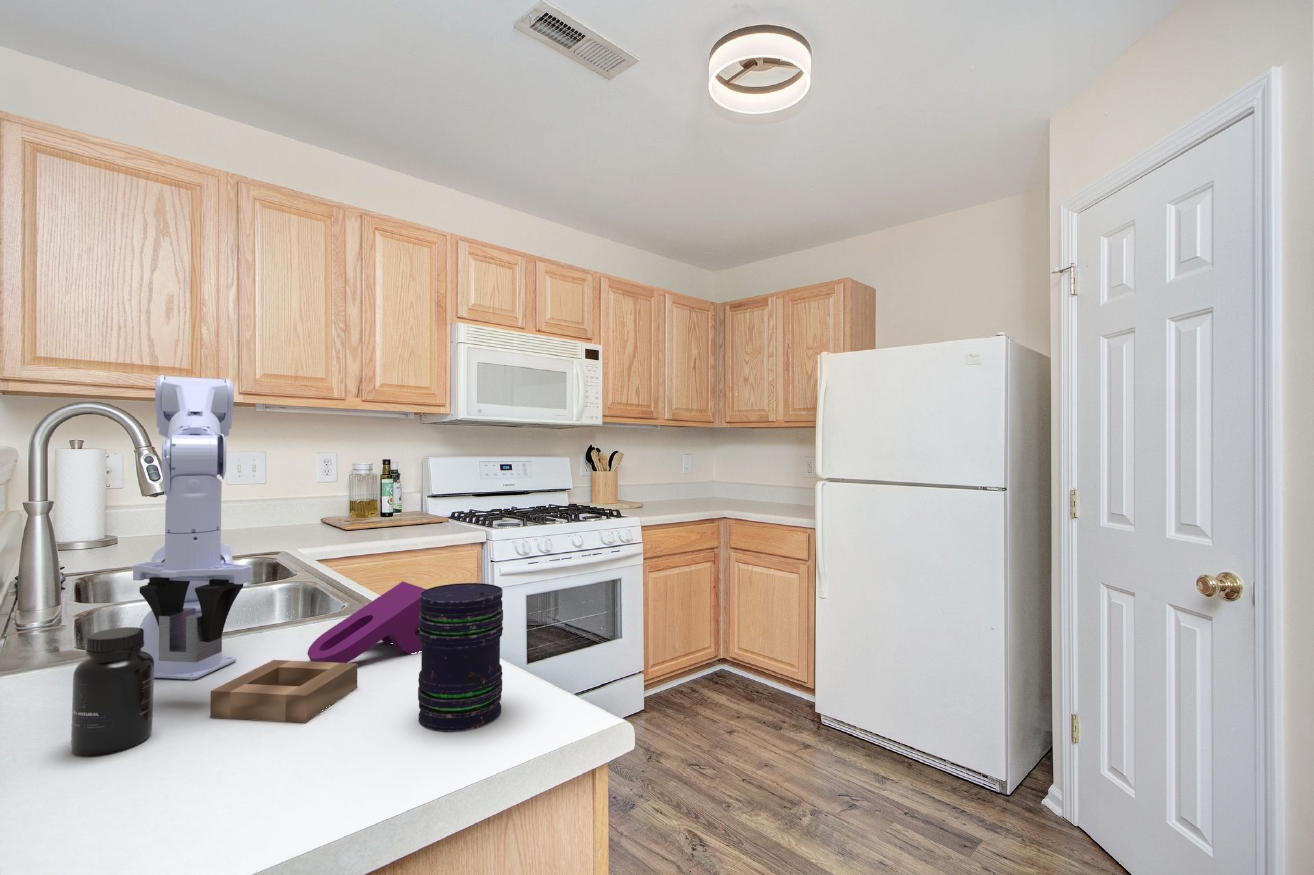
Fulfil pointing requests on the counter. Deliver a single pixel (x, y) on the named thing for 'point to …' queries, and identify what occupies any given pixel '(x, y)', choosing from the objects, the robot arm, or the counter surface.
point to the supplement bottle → (112, 693)
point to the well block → (284, 691)
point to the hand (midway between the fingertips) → (192, 638)
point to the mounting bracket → (374, 627)
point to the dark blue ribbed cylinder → (460, 656)
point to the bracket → (184, 637)
